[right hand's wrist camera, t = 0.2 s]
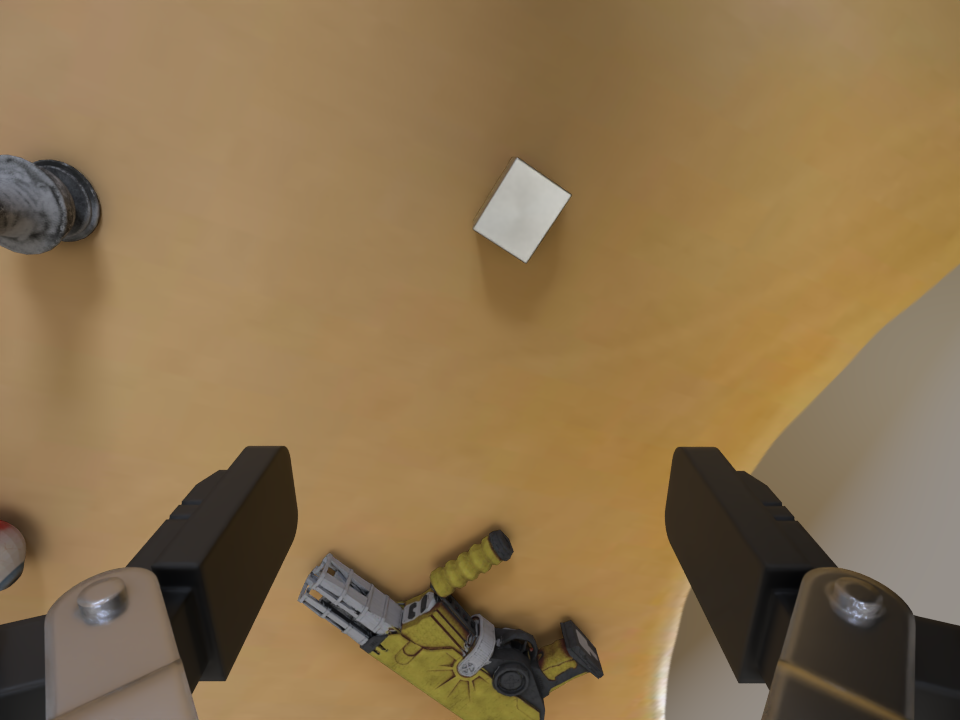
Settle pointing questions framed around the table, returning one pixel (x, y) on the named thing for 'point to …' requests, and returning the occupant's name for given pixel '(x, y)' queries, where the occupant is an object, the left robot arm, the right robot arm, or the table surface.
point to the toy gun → (453, 639)
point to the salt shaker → (43, 205)
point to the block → (520, 209)
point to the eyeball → (11, 554)
